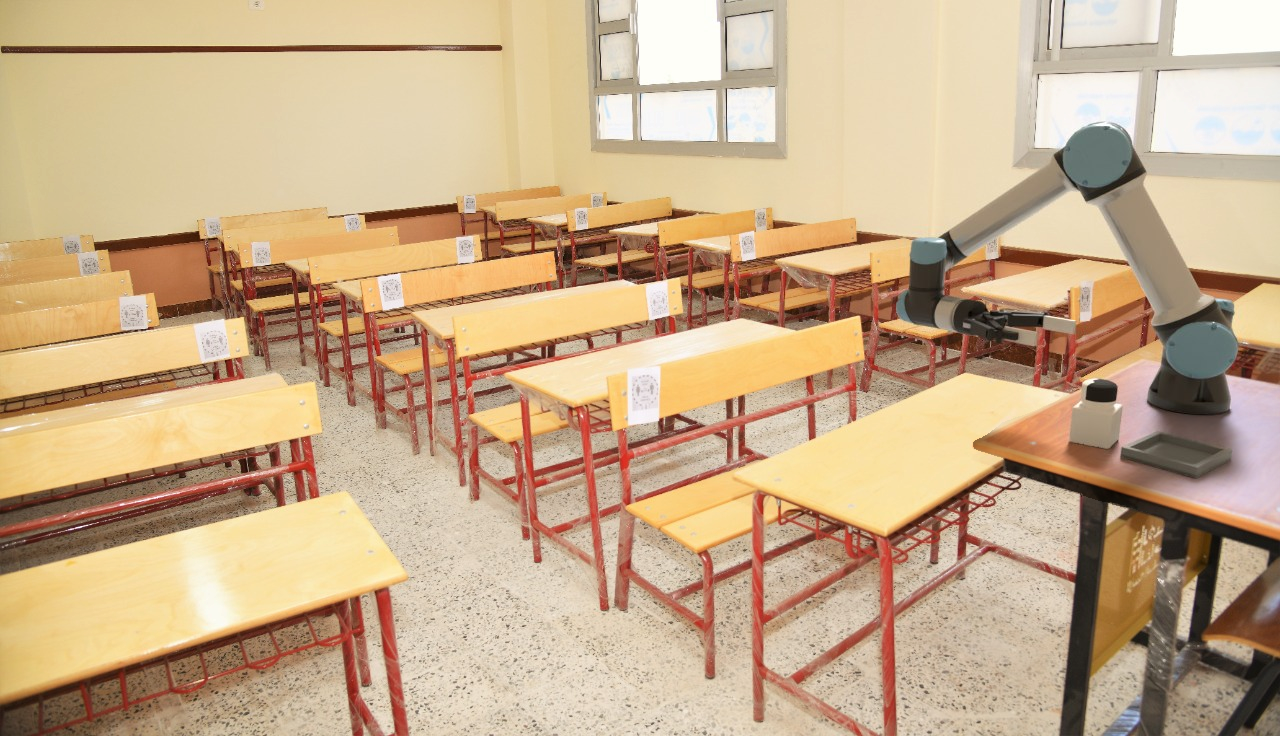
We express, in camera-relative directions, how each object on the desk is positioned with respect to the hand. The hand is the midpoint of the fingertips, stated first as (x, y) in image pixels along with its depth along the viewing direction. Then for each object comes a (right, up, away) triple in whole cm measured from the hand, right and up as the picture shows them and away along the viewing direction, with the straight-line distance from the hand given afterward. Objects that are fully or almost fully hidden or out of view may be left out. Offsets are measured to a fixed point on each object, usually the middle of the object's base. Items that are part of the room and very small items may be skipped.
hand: (1055, 333), depth 174 cm
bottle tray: (+16, -23, -12) cm, 31 cm away
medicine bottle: (+6, -21, -2) cm, 22 cm away
